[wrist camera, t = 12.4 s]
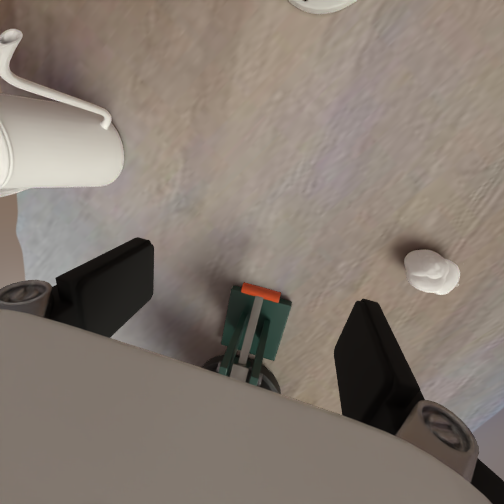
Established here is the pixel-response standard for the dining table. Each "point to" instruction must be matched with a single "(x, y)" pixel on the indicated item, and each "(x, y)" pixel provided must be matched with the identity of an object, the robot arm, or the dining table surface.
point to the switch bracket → (265, 332)
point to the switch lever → (251, 328)
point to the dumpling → (431, 272)
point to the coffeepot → (52, 136)
